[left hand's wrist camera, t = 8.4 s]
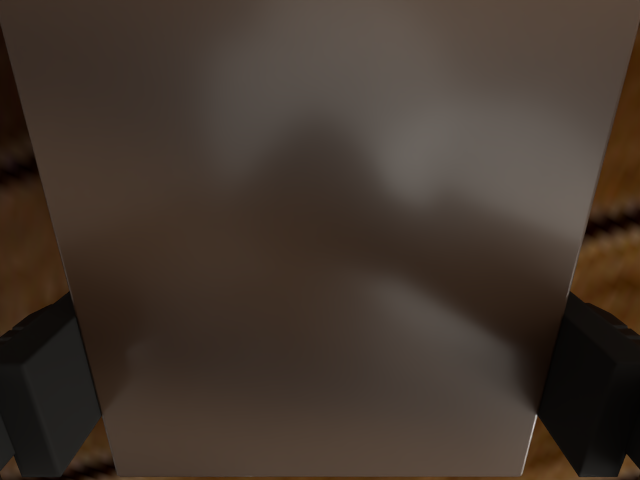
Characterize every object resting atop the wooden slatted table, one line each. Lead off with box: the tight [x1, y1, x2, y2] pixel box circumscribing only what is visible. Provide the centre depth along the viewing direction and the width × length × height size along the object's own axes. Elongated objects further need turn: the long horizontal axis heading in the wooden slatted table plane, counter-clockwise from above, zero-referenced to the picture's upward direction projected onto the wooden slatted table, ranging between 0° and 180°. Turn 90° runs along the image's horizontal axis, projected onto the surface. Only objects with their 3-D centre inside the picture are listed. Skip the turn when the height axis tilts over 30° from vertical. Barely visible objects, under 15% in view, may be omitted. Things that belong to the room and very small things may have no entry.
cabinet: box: [0, 0, 640, 477], centre depth 11 cm, size 18×10×10 cm, turn 0°
